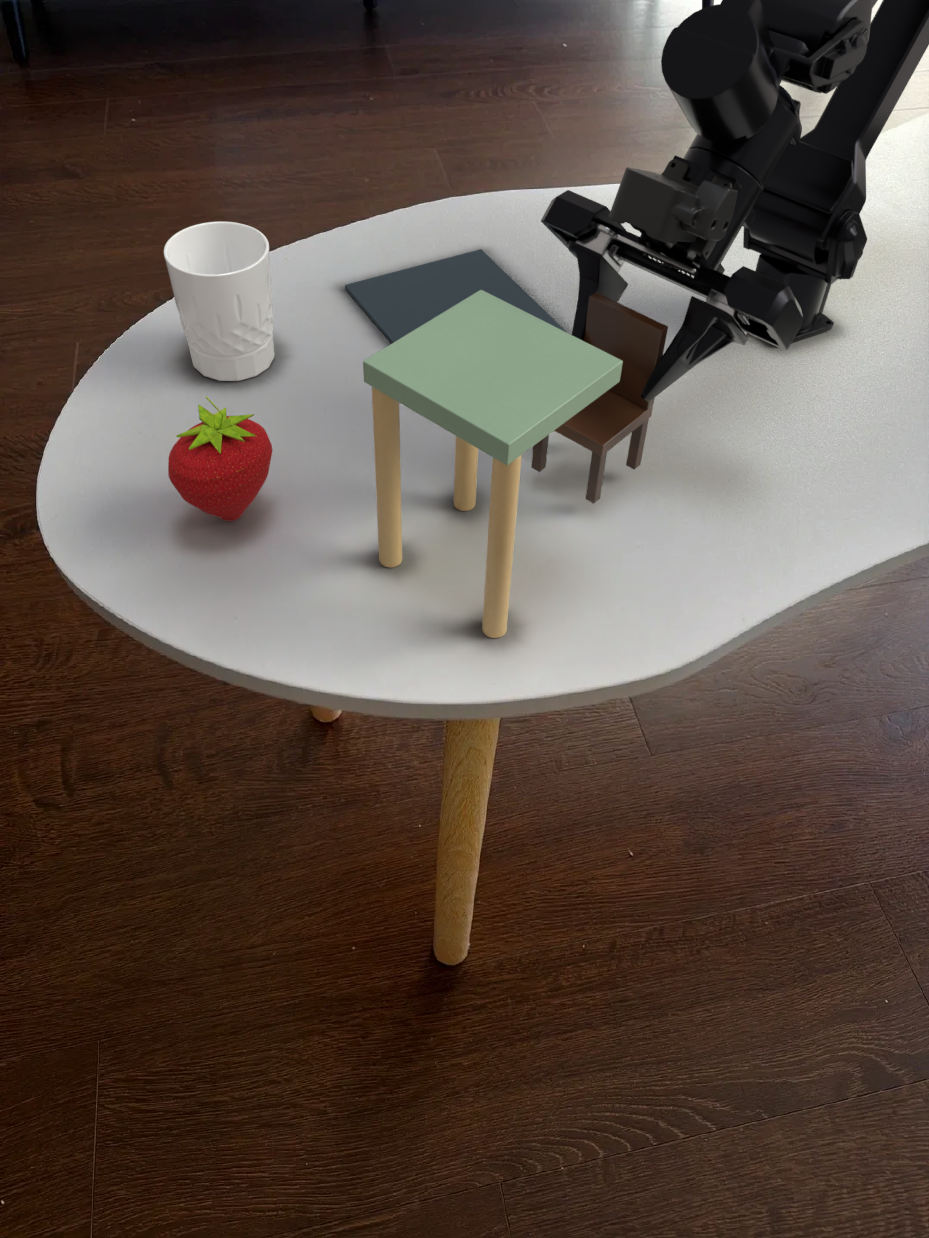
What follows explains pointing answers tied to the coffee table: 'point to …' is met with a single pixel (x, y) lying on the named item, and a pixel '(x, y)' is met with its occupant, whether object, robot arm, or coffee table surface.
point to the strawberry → (220, 463)
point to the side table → (480, 413)
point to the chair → (614, 389)
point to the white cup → (223, 297)
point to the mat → (436, 292)
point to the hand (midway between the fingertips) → (606, 380)
